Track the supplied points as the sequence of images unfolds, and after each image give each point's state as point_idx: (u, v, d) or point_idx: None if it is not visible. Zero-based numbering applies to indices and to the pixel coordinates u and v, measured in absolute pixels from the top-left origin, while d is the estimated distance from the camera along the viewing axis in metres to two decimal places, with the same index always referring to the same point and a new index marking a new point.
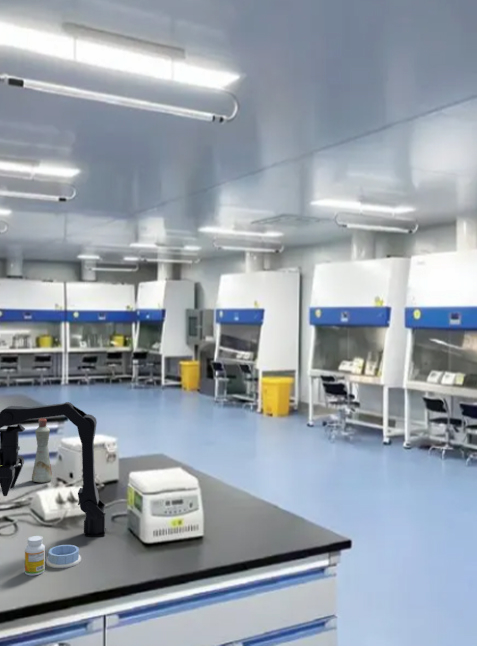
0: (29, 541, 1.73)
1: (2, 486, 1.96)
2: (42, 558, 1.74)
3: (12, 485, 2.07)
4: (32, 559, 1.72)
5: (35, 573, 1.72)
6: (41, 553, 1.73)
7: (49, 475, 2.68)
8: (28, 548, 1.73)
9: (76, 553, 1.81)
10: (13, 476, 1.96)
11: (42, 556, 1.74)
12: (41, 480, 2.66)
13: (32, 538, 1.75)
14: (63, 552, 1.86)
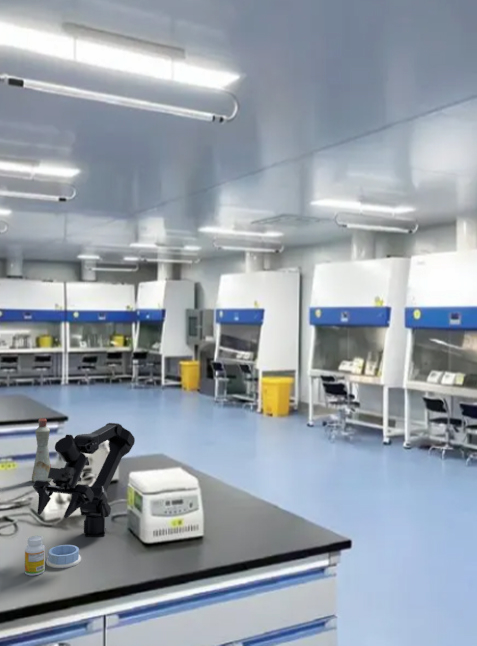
0: (29, 541, 1.73)
1: (72, 506, 1.82)
2: (42, 558, 1.74)
3: (40, 512, 1.84)
4: (32, 559, 1.72)
5: (35, 573, 1.72)
6: (41, 553, 1.73)
7: None
8: (28, 548, 1.73)
9: (76, 553, 1.81)
10: None
11: (42, 556, 1.74)
12: None
13: (32, 538, 1.75)
14: (63, 552, 1.86)
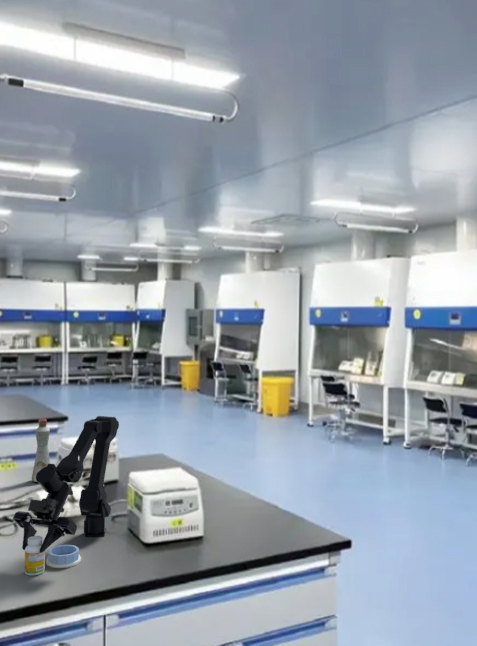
0: (29, 541, 1.73)
1: (48, 540, 1.74)
2: (42, 558, 1.74)
3: (25, 546, 1.75)
4: (32, 559, 1.72)
5: (35, 573, 1.72)
6: (41, 553, 1.73)
7: None
8: (28, 548, 1.73)
9: (76, 553, 1.81)
10: None
11: (42, 556, 1.74)
12: None
13: (32, 537, 1.75)
14: (63, 552, 1.86)
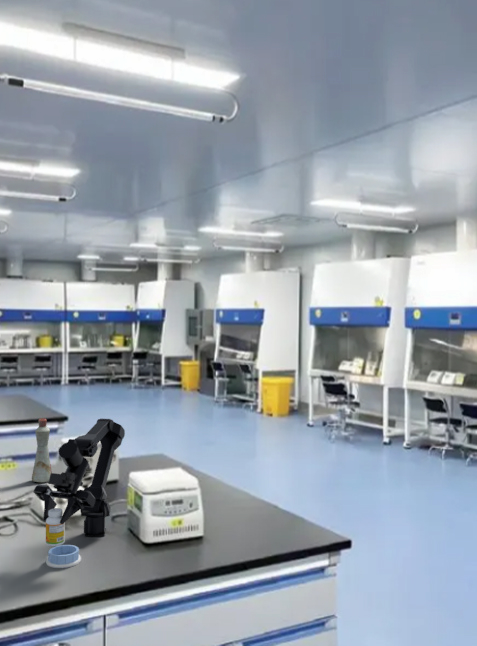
0: (50, 513, 1.79)
1: (68, 512, 1.80)
2: (62, 530, 1.79)
3: (46, 518, 1.81)
4: (53, 530, 1.78)
5: (56, 544, 1.78)
6: (62, 524, 1.79)
7: (49, 475, 2.68)
8: (49, 520, 1.78)
9: (76, 553, 1.81)
10: None
11: (62, 527, 1.79)
12: (41, 480, 2.66)
13: (52, 510, 1.80)
14: (63, 552, 1.86)
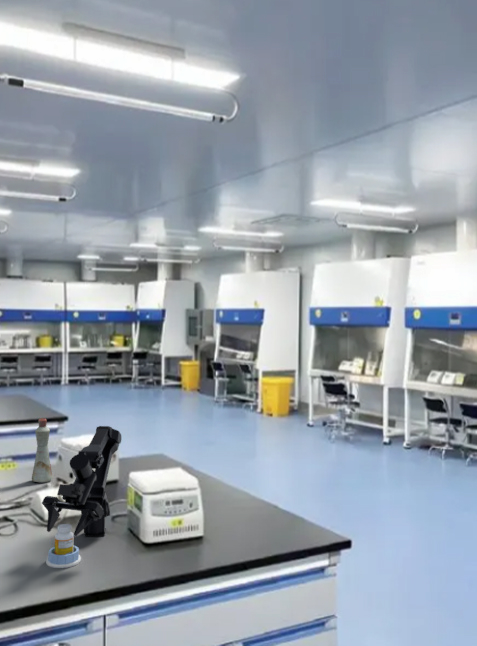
0: (59, 528, 1.81)
1: (82, 523, 1.81)
2: (71, 545, 1.82)
3: (50, 528, 1.83)
4: (62, 546, 1.80)
5: None
6: (71, 540, 1.81)
7: (49, 475, 2.68)
8: (58, 535, 1.81)
9: (76, 553, 1.81)
10: None
11: (71, 543, 1.82)
12: (41, 480, 2.66)
13: (61, 525, 1.83)
14: None
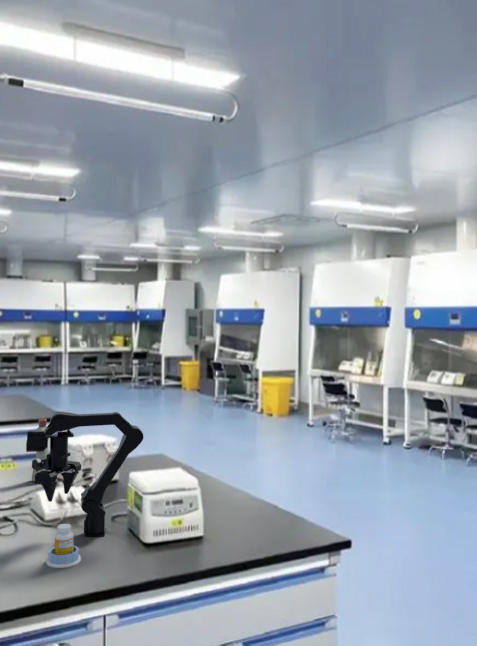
0: (59, 529, 1.81)
1: (46, 491, 1.97)
2: (71, 545, 1.82)
3: (66, 491, 2.07)
4: (62, 546, 1.80)
5: None
6: (71, 540, 1.81)
7: None
8: (58, 535, 1.81)
9: (76, 553, 1.81)
10: (54, 482, 1.95)
11: (71, 543, 1.82)
12: None
13: (61, 525, 1.83)
14: None
